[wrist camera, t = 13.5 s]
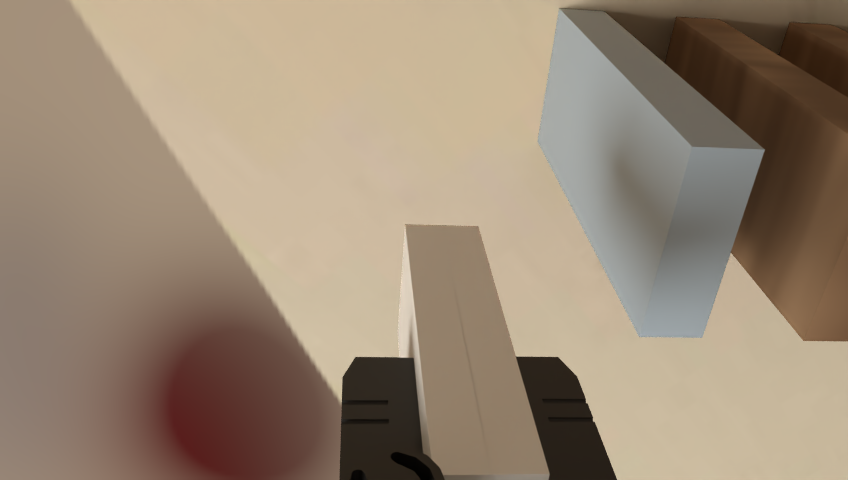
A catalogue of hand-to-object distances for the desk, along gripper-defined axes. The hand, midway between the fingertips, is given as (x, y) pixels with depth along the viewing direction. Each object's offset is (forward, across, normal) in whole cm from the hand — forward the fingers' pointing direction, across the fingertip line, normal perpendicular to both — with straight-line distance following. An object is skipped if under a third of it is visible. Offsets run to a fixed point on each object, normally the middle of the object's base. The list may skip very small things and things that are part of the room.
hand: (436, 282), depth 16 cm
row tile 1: (+13, +10, 0) cm, 17 cm away
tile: (+13, +6, +1) cm, 14 cm away
